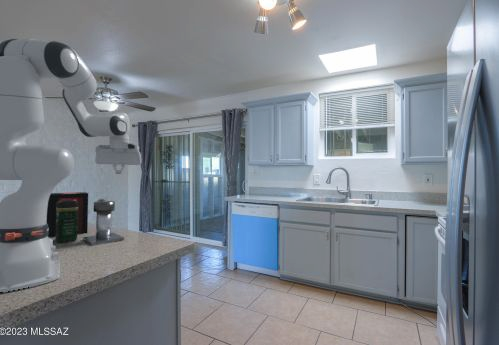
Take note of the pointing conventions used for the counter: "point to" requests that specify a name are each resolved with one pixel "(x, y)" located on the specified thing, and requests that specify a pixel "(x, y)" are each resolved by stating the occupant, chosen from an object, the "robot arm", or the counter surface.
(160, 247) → the counter surface
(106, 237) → the silver pedestal stand
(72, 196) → the cleaning product box
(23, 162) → the robot arm
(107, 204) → the elbow
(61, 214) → the coffee jar
